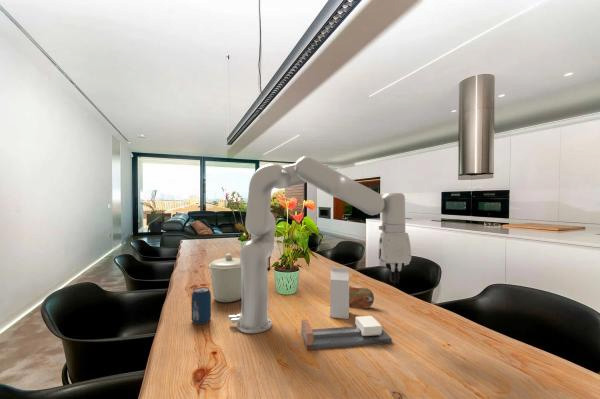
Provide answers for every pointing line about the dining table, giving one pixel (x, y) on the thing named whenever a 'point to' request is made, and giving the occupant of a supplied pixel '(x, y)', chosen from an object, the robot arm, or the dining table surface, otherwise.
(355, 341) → the rail
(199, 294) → the soda can
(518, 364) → the dining table surface
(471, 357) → the dining table surface
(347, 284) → the milk carton
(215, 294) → the canister
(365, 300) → the tin
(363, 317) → the slider
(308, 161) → the robot arm
